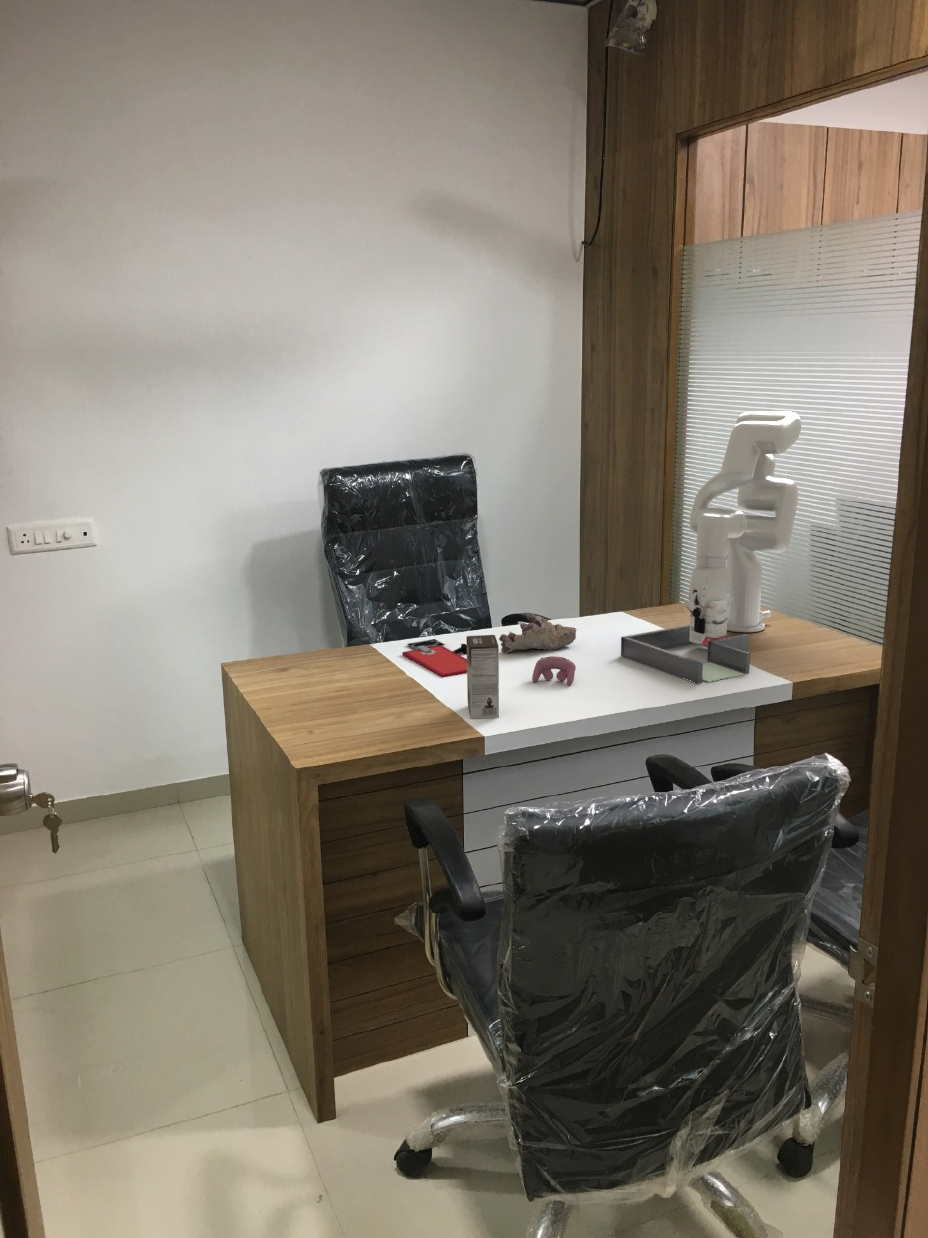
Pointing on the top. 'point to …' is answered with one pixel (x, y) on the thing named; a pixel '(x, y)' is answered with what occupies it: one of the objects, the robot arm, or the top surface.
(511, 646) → the mineral specimen
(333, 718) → the top surface
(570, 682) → the video game controller
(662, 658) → the gray open tray
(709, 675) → the pad
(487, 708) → the coffee box
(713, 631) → the ink box
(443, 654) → the red board with handle
